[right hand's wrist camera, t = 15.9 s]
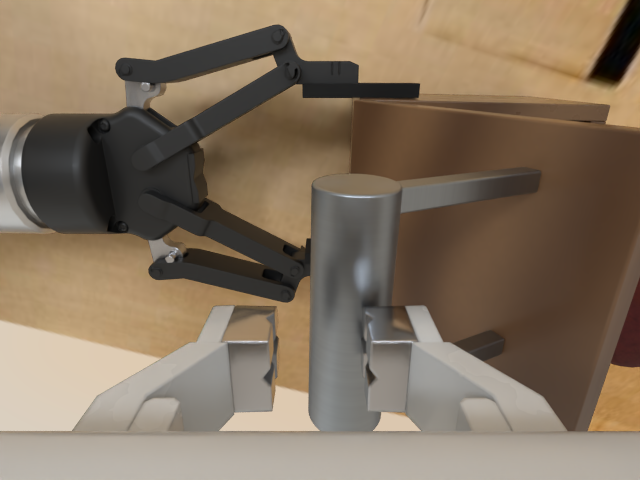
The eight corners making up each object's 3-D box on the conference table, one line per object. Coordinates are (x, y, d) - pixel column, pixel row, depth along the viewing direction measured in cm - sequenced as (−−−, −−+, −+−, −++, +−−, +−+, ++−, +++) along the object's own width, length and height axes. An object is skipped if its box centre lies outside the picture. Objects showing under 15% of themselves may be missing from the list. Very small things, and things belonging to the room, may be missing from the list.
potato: (556, 338, 38) (605, 393, 31) (555, 261, 35) (608, 304, 28) (641, 324, 37) (709, 377, 30) (647, 245, 34) (724, 284, 28)
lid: (690, 132, 10) (416, 155, 6) (588, 432, 14) (373, 561, 10) (368, 99, 21) (202, 100, 18) (358, 267, 25) (218, 298, 21)
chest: (529, 96, 30) (611, 105, 21) (505, 220, 34) (566, 272, 25) (352, 92, 30) (360, 99, 22) (346, 215, 34) (351, 265, 25)
